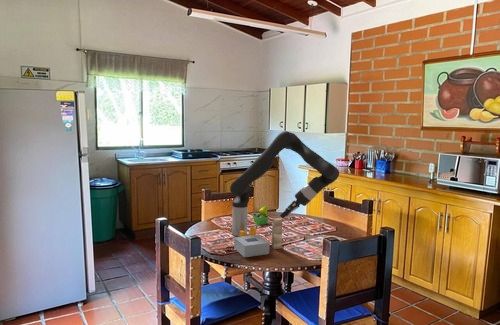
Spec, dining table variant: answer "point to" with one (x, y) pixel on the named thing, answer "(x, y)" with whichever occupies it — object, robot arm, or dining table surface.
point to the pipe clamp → (252, 232)
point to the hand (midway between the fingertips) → (283, 215)
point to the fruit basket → (261, 216)
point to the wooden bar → (276, 233)
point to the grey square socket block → (251, 245)
